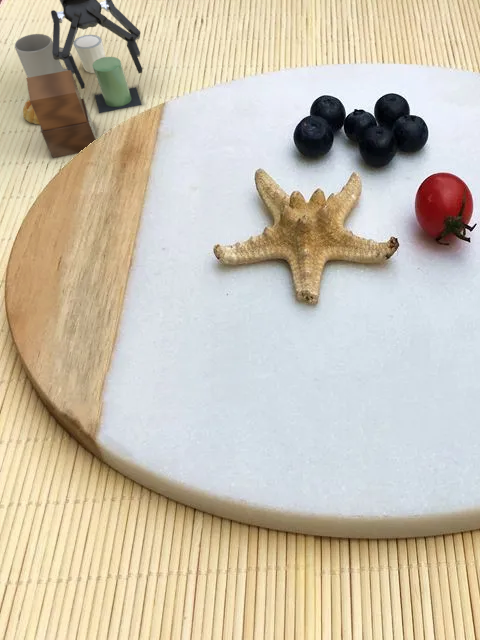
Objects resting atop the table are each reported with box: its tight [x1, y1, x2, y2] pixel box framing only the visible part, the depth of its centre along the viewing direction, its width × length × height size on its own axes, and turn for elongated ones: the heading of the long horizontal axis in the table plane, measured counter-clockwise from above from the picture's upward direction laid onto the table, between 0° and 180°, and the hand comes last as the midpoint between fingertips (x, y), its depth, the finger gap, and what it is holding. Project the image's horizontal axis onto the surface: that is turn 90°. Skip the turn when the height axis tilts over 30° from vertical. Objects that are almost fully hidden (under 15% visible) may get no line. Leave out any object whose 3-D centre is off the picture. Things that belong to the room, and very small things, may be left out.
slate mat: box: [94, 87, 143, 114], centre depth 163 cm, size 10×8×1 cm
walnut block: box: [25, 70, 97, 159], centre depth 148 cm, size 10×10×14 cm
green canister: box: [93, 56, 132, 107], centre depth 159 cm, size 6×6×9 cm
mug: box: [14, 33, 75, 78], centre depth 162 cm, size 12×8×11 cm
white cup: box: [72, 34, 107, 74], centre depth 169 cm, size 7×7×7 cm
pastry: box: [22, 99, 40, 126], centre depth 157 cm, size 9×7×4 cm
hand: (112, 79), depth 156 cm, fingers open, 13 cm apart
